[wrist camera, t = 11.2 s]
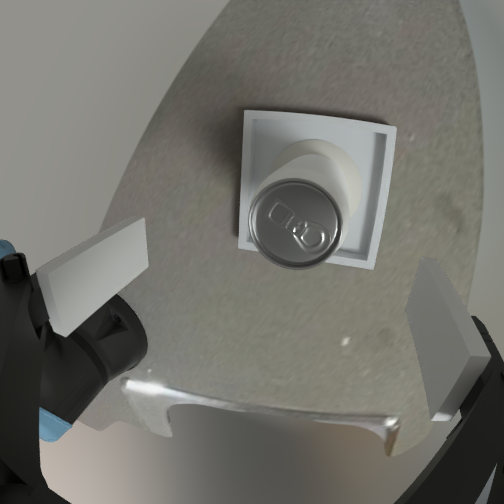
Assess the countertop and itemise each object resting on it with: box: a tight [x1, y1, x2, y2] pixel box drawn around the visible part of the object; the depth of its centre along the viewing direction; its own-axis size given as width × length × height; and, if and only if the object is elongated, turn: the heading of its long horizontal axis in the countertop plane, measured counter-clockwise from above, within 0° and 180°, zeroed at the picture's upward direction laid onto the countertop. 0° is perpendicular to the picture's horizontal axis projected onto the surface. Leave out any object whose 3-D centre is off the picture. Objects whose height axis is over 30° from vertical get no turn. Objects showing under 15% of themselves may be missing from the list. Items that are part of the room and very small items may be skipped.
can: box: [248, 154, 350, 270], centre depth 23 cm, size 6×6×12 cm
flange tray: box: [238, 110, 397, 270], centre depth 28 cm, size 14×14×2 cm
